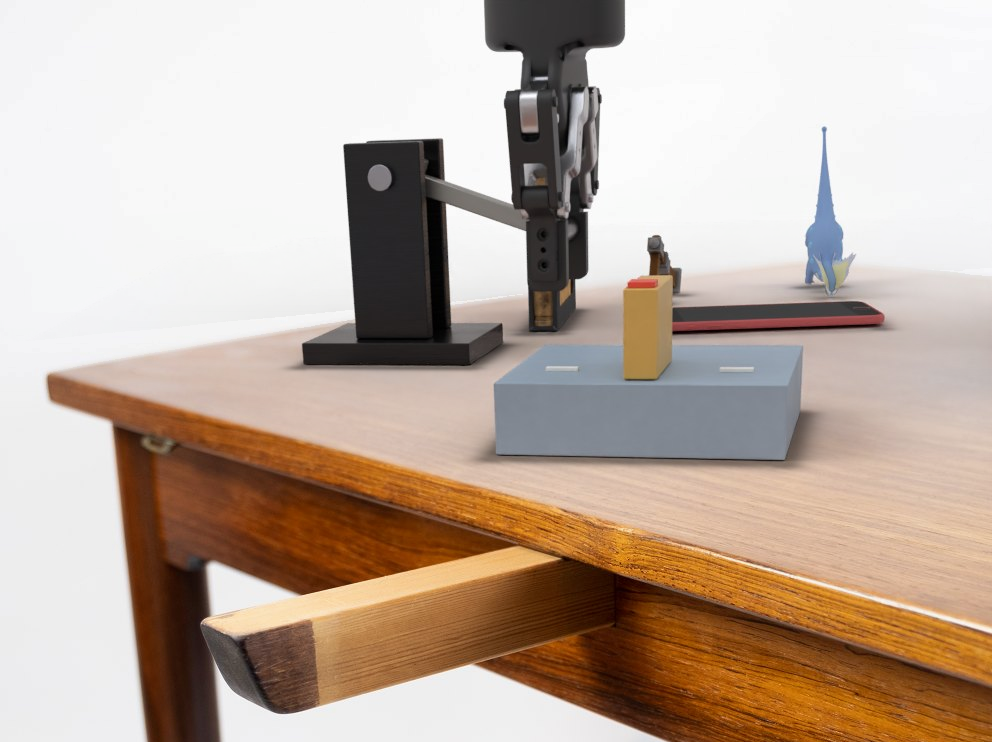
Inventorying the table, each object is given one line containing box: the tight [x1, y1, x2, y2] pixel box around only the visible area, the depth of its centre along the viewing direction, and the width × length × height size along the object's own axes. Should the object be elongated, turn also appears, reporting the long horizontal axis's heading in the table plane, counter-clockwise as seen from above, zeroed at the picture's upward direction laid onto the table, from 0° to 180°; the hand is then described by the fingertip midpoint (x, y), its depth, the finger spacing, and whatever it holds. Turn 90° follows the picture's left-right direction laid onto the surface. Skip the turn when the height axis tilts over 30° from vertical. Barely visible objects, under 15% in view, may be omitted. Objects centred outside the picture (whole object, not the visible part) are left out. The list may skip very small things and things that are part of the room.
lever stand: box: [301, 137, 504, 366], centre depth 88 cm, size 10×8×12 cm
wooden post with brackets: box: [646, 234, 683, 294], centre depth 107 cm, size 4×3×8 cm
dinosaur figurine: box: [804, 126, 857, 298], centre depth 109 cm, size 3×15×10 cm
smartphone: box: [672, 300, 885, 332], centre depth 95 cm, size 7×1×14 cm
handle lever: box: [424, 159, 581, 242], centre depth 85 cm, size 12×5×2 cm, turn 75°
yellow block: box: [622, 275, 674, 380], centre depth 63 cm, size 5×1×4 cm, turn 166°
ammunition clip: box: [527, 177, 577, 332], centre depth 98 cm, size 11×2×12 cm, turn 170°
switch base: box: [493, 344, 804, 461], centre depth 66 cm, size 12×10×3 cm
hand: (559, 282), depth 86 cm, fingers closed on handle lever, 5 cm apart
